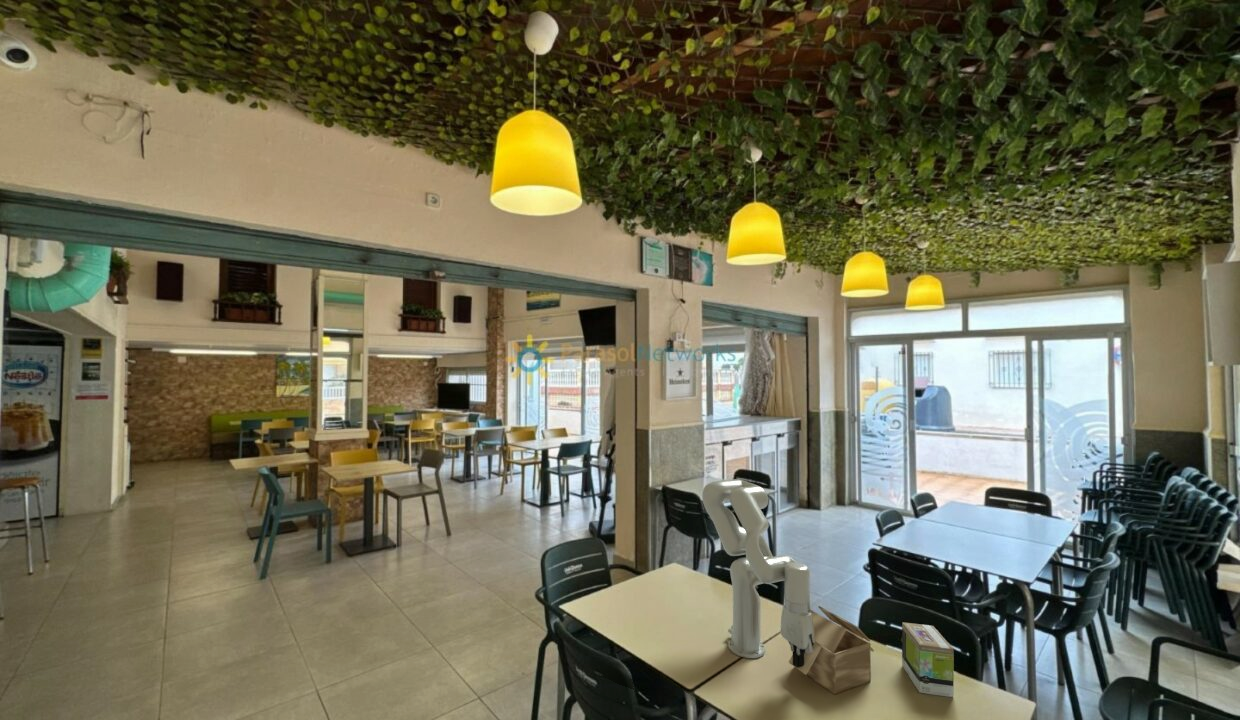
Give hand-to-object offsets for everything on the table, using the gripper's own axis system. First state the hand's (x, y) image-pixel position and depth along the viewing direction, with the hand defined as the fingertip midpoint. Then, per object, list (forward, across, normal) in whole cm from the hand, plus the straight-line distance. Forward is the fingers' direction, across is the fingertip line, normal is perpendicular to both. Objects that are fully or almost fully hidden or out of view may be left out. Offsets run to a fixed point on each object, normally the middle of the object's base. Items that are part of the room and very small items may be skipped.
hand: (798, 665), depth 152 cm
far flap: (-6, -1, +24) cm, 24 cm away
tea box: (+7, +14, +40) cm, 43 cm away
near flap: (-6, -1, +7) cm, 9 cm away
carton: (+7, -1, +15) cm, 17 cm away
